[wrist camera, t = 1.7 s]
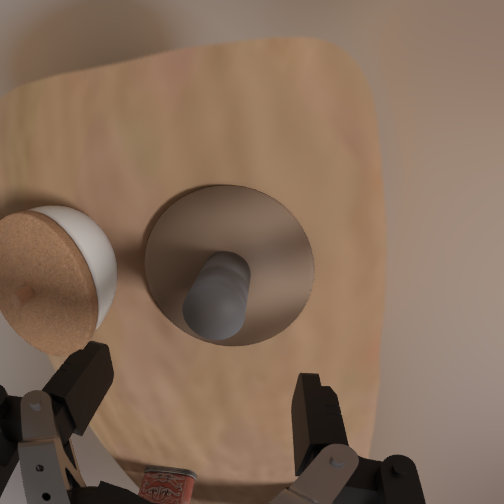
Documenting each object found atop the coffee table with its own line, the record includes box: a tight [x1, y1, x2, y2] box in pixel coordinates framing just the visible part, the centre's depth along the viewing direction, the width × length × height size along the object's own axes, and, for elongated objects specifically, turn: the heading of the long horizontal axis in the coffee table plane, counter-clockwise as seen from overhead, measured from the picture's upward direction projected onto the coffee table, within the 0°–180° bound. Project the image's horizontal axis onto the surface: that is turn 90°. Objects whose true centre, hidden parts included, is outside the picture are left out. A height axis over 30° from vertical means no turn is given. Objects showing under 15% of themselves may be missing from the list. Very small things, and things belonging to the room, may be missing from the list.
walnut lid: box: [145, 185, 314, 346], centre depth 20 cm, size 13×13×7 cm
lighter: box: [138, 467, 197, 504], centre depth 29 cm, size 8×3×10 cm, turn 102°
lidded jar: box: [0, 205, 118, 356], centre depth 19 cm, size 11×11×9 cm
